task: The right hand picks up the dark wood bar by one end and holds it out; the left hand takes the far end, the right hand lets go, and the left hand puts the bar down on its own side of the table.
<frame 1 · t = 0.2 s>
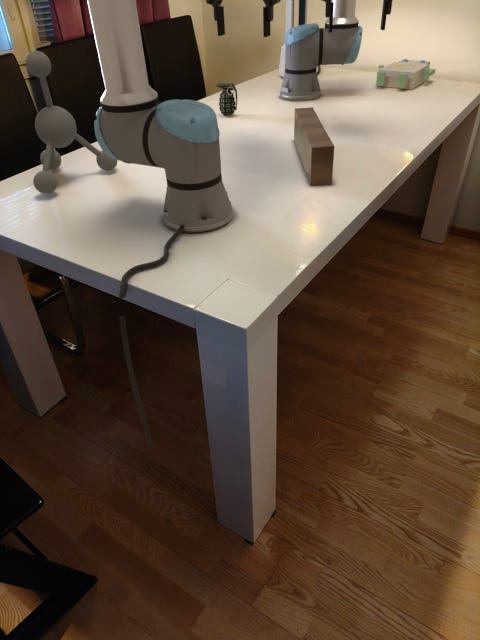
left hand: (243, 35, 129), 28 cm above the table, tool pointing down, fingers open, 13 cm apart
right hand: (356, 30, 129), 28 cm above the table, tool pointing down, fingers open, 13 cm apart
bar: (310, 160, 132), on the table
electronic device: (294, 77, 212), on the table
grenade: (228, 115, 169), on the table
molecular model: (78, 177, 130), on the table
grey box with connectors: (402, 83, 194), on the table
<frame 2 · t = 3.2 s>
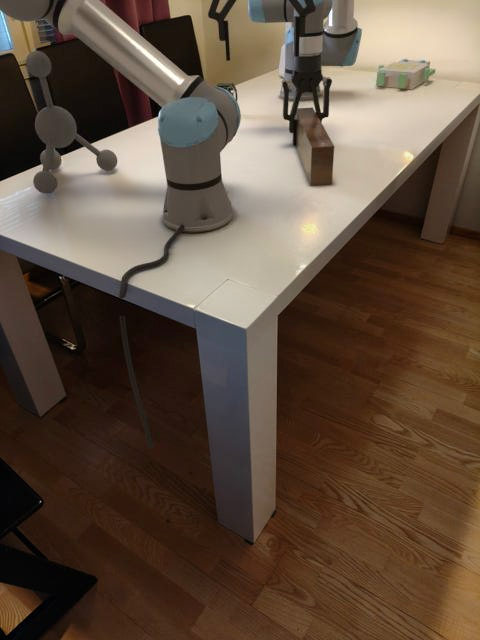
left hand: (262, 57, 97), 29 cm above the table, tool pointing down, fingers open, 13 cm apart
right hand: (304, 143, 141), 0 cm above the table, tool pointing down, fingers closed on bar, 5 cm apart
bar: (310, 160, 132), on the table, touching right hand
everything else where it was.
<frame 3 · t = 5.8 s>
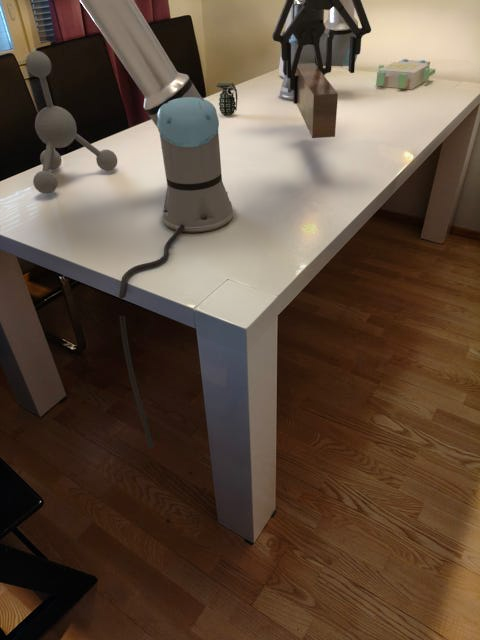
left hand: (320, 74, 106), 24 cm above the table, tool pointing down, fingers open, 13 cm apart
right hand: (305, 101, 135), 12 cm above the table, tool pointing down, fingers closed on bar, 5 cm apart
bar: (312, 116, 125), point 11 cm above the table, touching right hand
everything else where it was.
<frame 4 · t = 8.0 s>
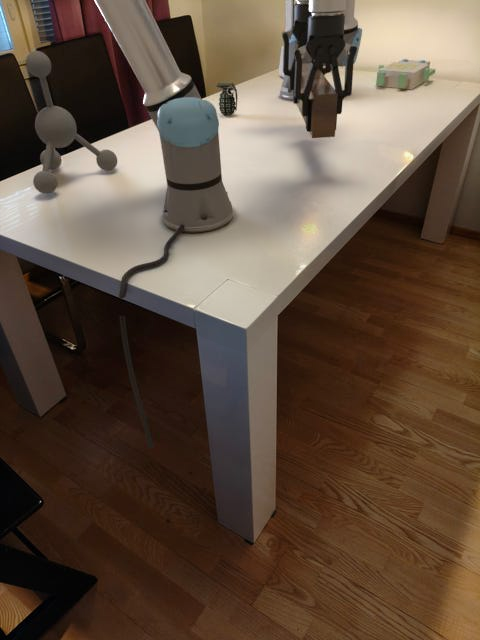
left hand: (320, 129, 114), 12 cm above the table, tool pointing down, fingers closed on bar, 5 cm apart
right hand: (305, 101, 135), 12 cm above the table, tool pointing down, fingers closed on bar, 5 cm apart
bar: (312, 116, 125), point 11 cm above the table, touching left hand, right hand
everything else where it was.
when the right hand's fingers open (12 cm above the table, at t = 8.6 s): bar stays where it is, held by the left hand.
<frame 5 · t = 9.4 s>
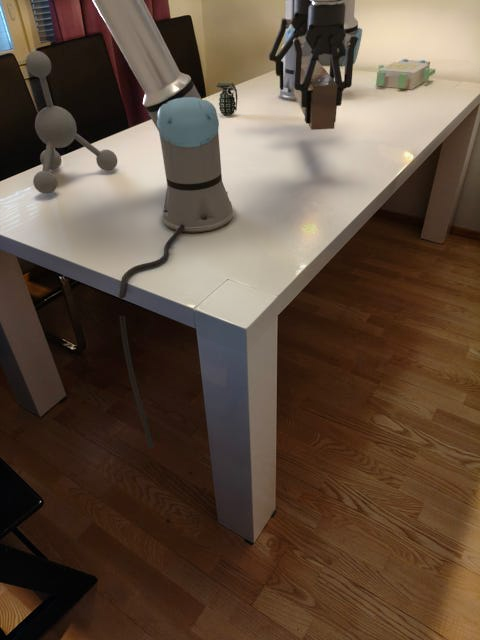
left hand: (319, 121, 113), 14 cm above the table, tool pointing down, fingers closed on bar, 5 cm apart
right hand: (306, 87, 133), 15 cm above the table, tool pointing down, fingers open, 13 cm apart
bar: (311, 109, 124), point 13 cm above the table, touching left hand
everything else where it was.
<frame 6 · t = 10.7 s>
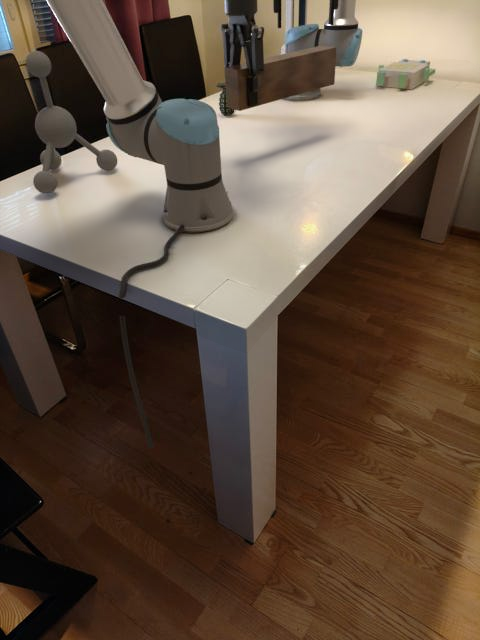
left hand: (245, 102, 124), 15 cm above the table, tool pointing down, fingers closed on bar, 5 cm apart
right hand: (305, 26, 129), 29 cm above the table, tool pointing down, fingers open, 13 cm apart
bar: (283, 95, 130), point 15 cm above the table, touching left hand
everything else where it was.
when the left hand's fingers open (2 cm above the table, at t = 13.5 s): bar drops 1 cm, on the table.
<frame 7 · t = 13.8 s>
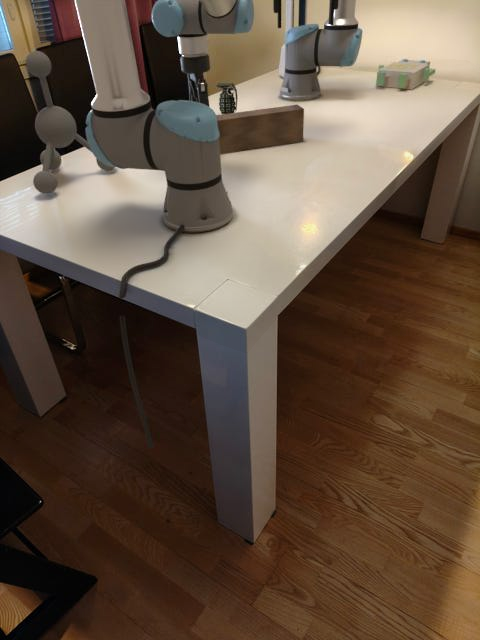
left hand: (202, 142, 139), 3 cm above the table, tool pointing down, fingers open, 9 cm apart
right hand: (305, 26, 129), 29 cm above the table, tool pointing down, fingers open, 13 cm apart
bar: (246, 146, 143), on the table
everything else where it was.
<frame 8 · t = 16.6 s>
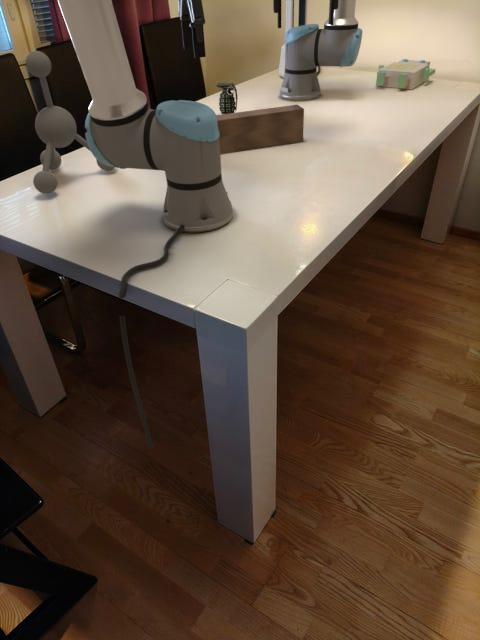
left hand: (194, 53, 125), 26 cm above the table, tool pointing down, fingers open, 13 cm apart
right hand: (305, 26, 129), 29 cm above the table, tool pointing down, fingers open, 13 cm apart
nothing on the table moved.
at the end: bar inside the target area (12.7 cm from its centre), on the table; the left hand is holding nothing; the right hand is holding nothing; bar at rest at the end (0.0 cm/s) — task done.
